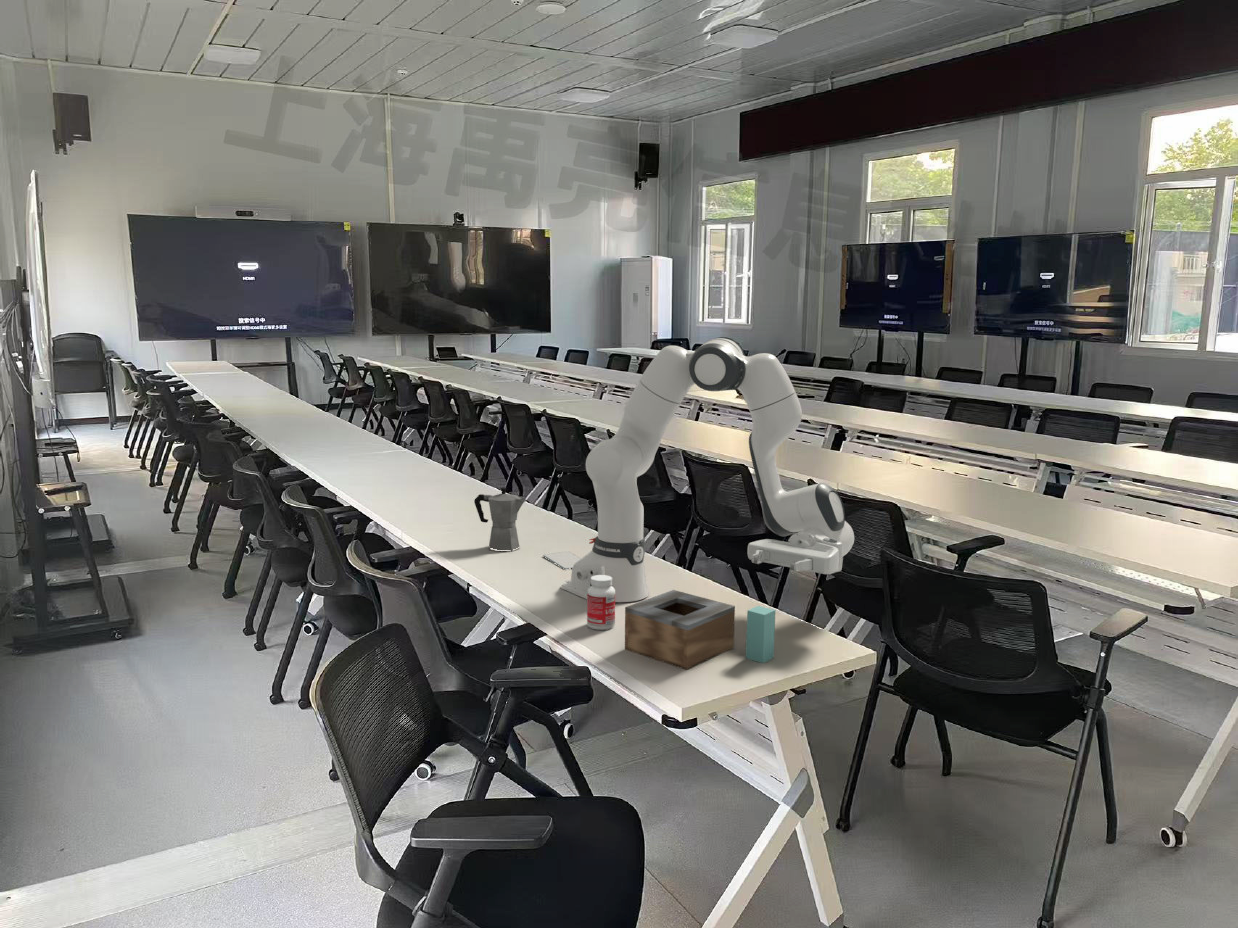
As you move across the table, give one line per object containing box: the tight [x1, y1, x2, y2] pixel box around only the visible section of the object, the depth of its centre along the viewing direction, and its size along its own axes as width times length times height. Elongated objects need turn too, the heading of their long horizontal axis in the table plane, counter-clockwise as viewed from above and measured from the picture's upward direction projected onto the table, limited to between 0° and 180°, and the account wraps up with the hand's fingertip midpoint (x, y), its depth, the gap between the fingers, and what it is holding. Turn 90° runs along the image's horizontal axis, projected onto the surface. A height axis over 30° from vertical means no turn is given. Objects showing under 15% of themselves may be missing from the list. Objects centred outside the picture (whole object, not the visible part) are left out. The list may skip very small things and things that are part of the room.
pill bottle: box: [586, 575, 616, 631], centre depth 202 cm, size 6×6×11 cm
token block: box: [745, 605, 776, 664], centre depth 184 cm, size 4×4×10 cm
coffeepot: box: [473, 486, 527, 550], centre depth 265 cm, size 15×9×18 cm, turn 80°
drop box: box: [624, 589, 736, 671], centre depth 189 cm, size 16×16×9 cm
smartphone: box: [542, 551, 582, 569], centre depth 254 cm, size 8×1×15 cm
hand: (773, 563), depth 193 cm, fingers open, 8 cm apart
